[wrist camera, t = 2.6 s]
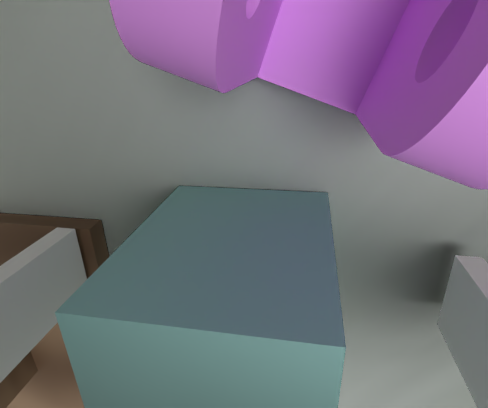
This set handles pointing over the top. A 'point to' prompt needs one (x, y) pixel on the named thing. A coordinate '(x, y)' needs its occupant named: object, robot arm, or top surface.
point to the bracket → (340, 64)
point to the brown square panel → (52, 345)
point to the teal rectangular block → (213, 307)
